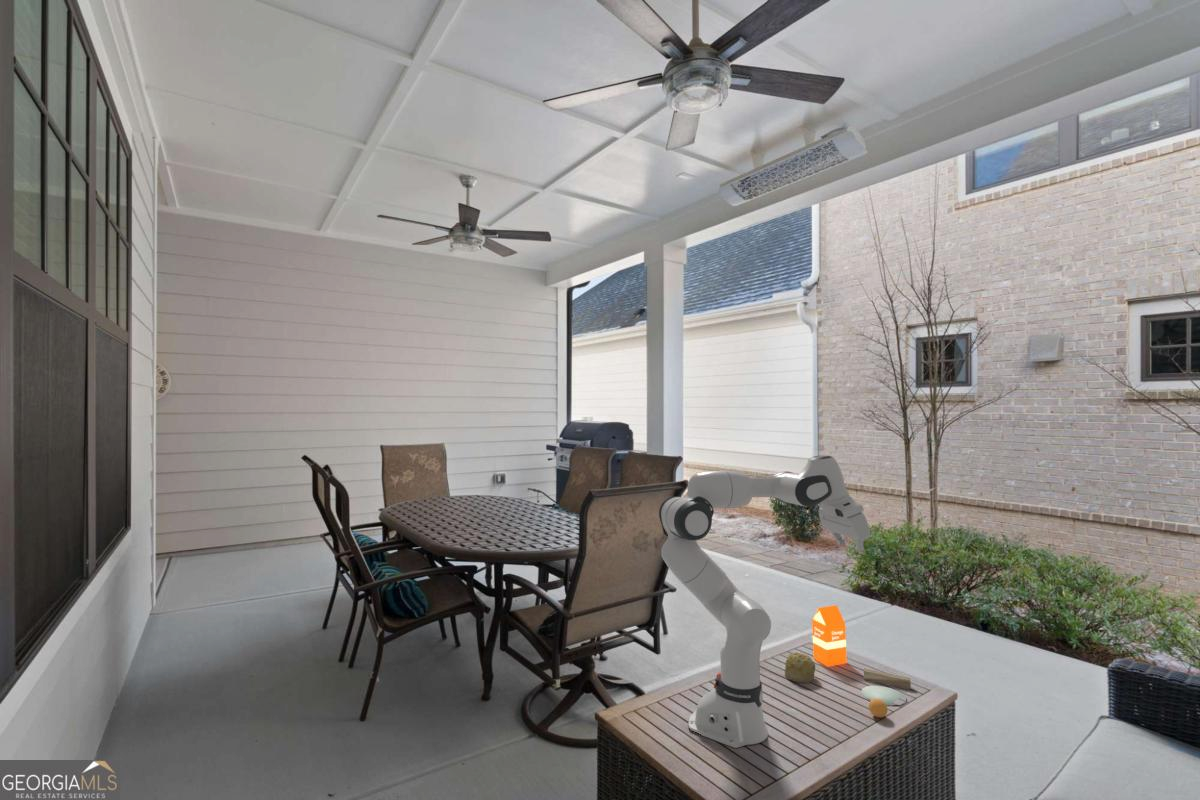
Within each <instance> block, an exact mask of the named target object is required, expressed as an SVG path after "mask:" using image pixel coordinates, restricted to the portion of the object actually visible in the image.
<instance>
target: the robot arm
mask: <svg viewBox="0 0 1200 800" xmlns="http://www.w3.org/2000/svg"><path fill="white" fill-rule="evenodd" d="M686 490H687V492H686V494H685V495H684V497H682V496H679V495H677V496H676V495H675V496H670V497H668V498H665V499H664V500H663V502H662V503H661V504H660V506H659V509H658V518H659V521H660V524H661V527H662V528H661V529H662V531H663V535H665V536H667V538H666V540H665V541H664V542H663V545H662V546H661V551H660V553H661V555H660V556H661V558H662V560H663V561H664V563H665V564H666V566H667V567H668V569H669V570H670V571H671V572H672V574H673V575H674V576H675V577H676V578H677V580H678V581H680V582H681V583H682V585H683V586H684V587H685V588H686V589H687V590H688V591H689V592H690V593H691V594H692V595H693V596H694V597H695V598H697V600H698V601H699V602H700V603H701V604H702V606H703V607H704V608H706V610H707V611H708V612H709V613H710V614H711V616H713V618H714V619H715V620H716V621H718V622H719V623H720V624H721V625H722V626H724V627H725V630H726V639H725V644H724V646H723V647H722V648H721V651H720V671H718V672H717V674H716V678H715V679H714V681H713V689H711V690H710V691H708V692H707V693H705V694H704V695H703V696H701V698H700V700H699V701H698V703H697V707H696V709H695V711H693V712H692V713H691V715H690V717H689V719H688V724H687V726H688V725H689V727H688V729H689V728H690V729H691V730H693V731H695V732H697V733H699V734H698V735H700V734H701V735H700V736H703V737H706V738H709V739H710V740H713V741H715V742H717V743H718V742H719V743H721V744H724V745H726V746H728V747H731V748H734V749H737V748H738V749H739V748H741V747H743V746H749V745H750V746H751V745H756V744H760V743H762V742H764V741H765V740H766V739H767V738H768V735H769V733H768V729H767V725H766V723H765V722H766V721H765V716H764V711H763V706H762V704H763V695H764V694H763V693H764V691H763V686H762V685H763V684H762V681H761V671H760V670H761V669H760V668H761V666H760V658H761V657H760V656H761V649H762V645H763V642H764V640H766V639H767V638H768V637H769V635H770V633H771V629H772V621H771V618H770V616H769V614H768V613H767V612H766V610H765V609H764V607H762V605H761V604H760V603H758V602H757V601H756V600H754V599H752V598H750V597H749V596H748V595H746V594H745V593H743V592H742V591H741V590H739V588H738V587H736V585H734V583H733V582H732V581H731V580H730V578H729V577H728V576H727V574H726V572H725V571H724V570H723V569H722V568H721V567H720V566H719V565H718V564H717V563H716V562H715V560H713V559H712V558H711V557H710V556H709V555H708V554H707V553H706V552H705V551H704V550H703V549H702V548H701V547H700V545H699V544H698V542H697V541H698V540H702V539H704V538H705V537H706V536H707V535H708V534H709V532H710V530H711V528H712V524H713V523H712V522H713V517H714V513H715V512H714V511H715V510H714V509H737V508H738V509H739V508H742V507H747V506H748V505H749V504H750V503H751V501H752V500H753V498H774V499H775V500H777V501H779V502H781V503H784V504H785V503H787V504H793V505H797V506H801V507H806V508H810V507H811V508H812V507H815V506H817V505H818V507H819V508H818V515H819V521H820V524H821V527H822V528H823V529H824V530H826V531H829V532H831V534H832V535H833V537H834V539H835V540H836V543H837V545H839V546H842V545H845V544H846V541H845V539H844V537H847V538H850V539H853V540H854V542H855V545H854V548H855V550H856V551H857V552H859V553H862V552H864V551H865V547H864V541H865V540H867V539H869V538H870V537H871V530H870V526H869V523H868V520H867V518H866V516H865V514H864V513H863V512H864V507H863V505H862V504H861V503H860V502H858V501H857V500H855V499H854V498H853V497H852V496H850V494H849V491H848V489H847V488H846V486H845V478H844V476H843V473H842V470H841V468H840V466H839V463H838V461H837V460H836V459H835V458H834V457H833V456H832V455H824V454H823V455H816V456H812V457H810V458H808V459H807V463H806V464H805V466H804V467H803V469H802V470H801V471H800V472H798V473H796V472H792V471H781V472H778V473H777V474H774V475H771V476H769V477H767V476H766V477H765V476H761V477H760V476H759V477H758V476H757V477H756V476H755V477H754V476H750V475H748V474H747V473H744V472H740V471H734V470H710V471H703V472H697V473H695V474H693V475H692V476H691V477H690V478H689V480H688V482H687V489H686ZM842 536H844V537H842ZM691 723H693V724H691ZM695 732H694V733H695ZM697 733H696V734H697Z"/></svg>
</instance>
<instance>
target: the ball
mask: <svg viewBox="0 0 1200 800" xmlns="http://www.w3.org/2000/svg"><path fill="white" fill-rule="evenodd" d="M868 710H869V712H870V713H871V714H872V715H873V716H874V717H876V718H884V717H886V716H887V714H888V707H887V705H886V704H885V703H884V702H883V701H882V700H880V699H872V700H871V701H870V700H869V703H868Z"/></svg>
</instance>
